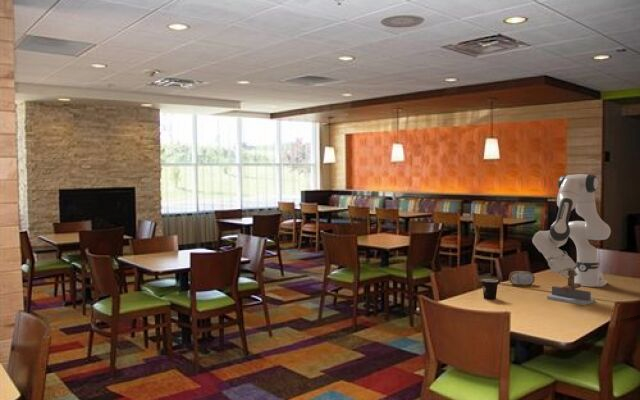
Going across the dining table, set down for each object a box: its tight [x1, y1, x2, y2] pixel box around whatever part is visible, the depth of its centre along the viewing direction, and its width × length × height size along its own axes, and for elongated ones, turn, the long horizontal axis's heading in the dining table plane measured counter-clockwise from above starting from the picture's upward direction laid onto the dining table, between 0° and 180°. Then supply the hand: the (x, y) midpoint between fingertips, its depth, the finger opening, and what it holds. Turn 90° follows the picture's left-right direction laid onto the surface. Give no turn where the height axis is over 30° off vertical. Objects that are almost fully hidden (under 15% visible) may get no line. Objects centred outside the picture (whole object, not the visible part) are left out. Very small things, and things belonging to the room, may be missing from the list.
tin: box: [508, 270, 535, 286], centre depth 328 cm, size 15×3×8 cm, turn 84°
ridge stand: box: [546, 285, 596, 306], centre depth 288 cm, size 13×20×6 cm, turn 40°
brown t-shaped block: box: [560, 270, 582, 292], centre depth 287 cm, size 18×2×10 cm, turn 130°
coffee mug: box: [481, 278, 499, 301], centre depth 294 cm, size 12×9×10 cm
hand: (572, 276), depth 287 cm, fingers open, 8 cm apart
